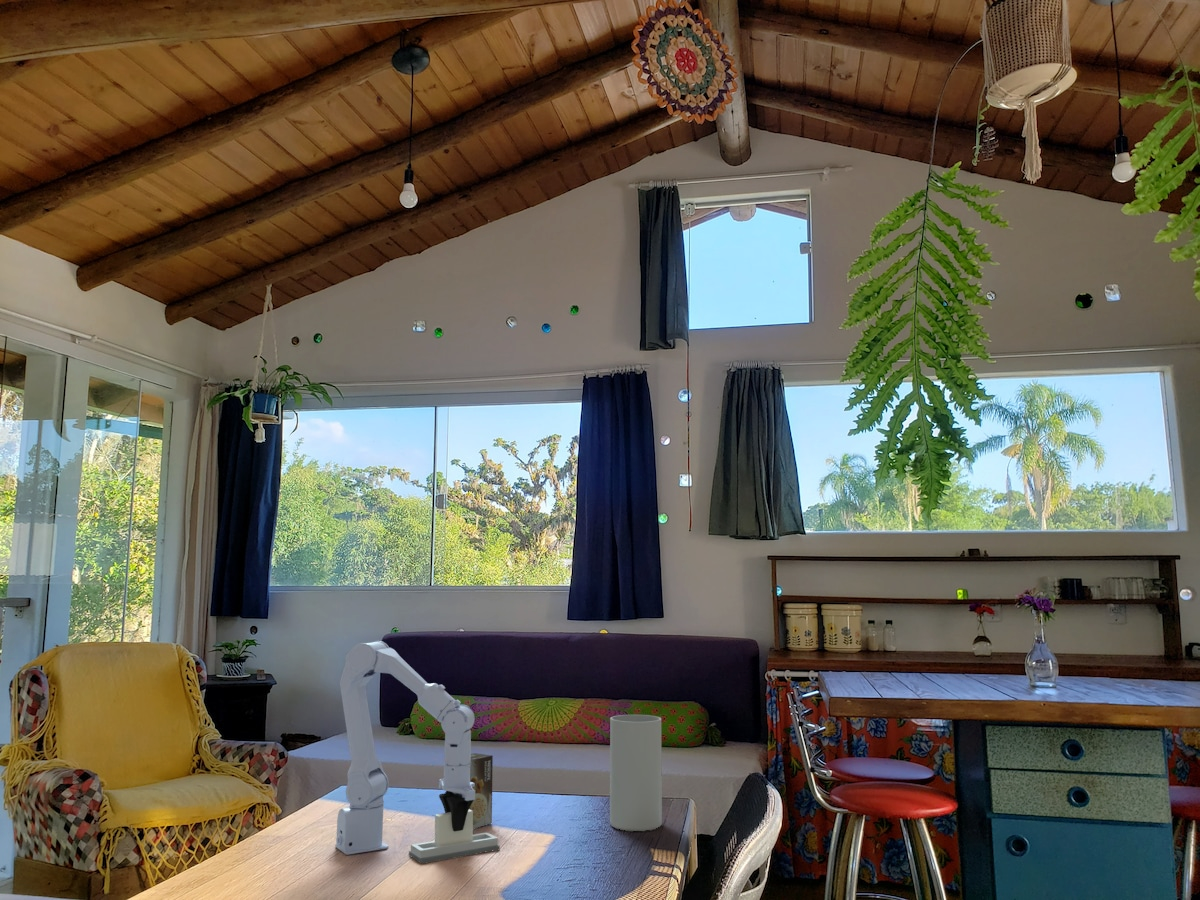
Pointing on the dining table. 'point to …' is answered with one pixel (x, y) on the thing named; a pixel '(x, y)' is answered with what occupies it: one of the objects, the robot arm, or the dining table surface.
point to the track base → (453, 848)
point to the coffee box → (481, 788)
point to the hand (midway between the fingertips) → (455, 829)
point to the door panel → (445, 830)
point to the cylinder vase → (635, 772)
